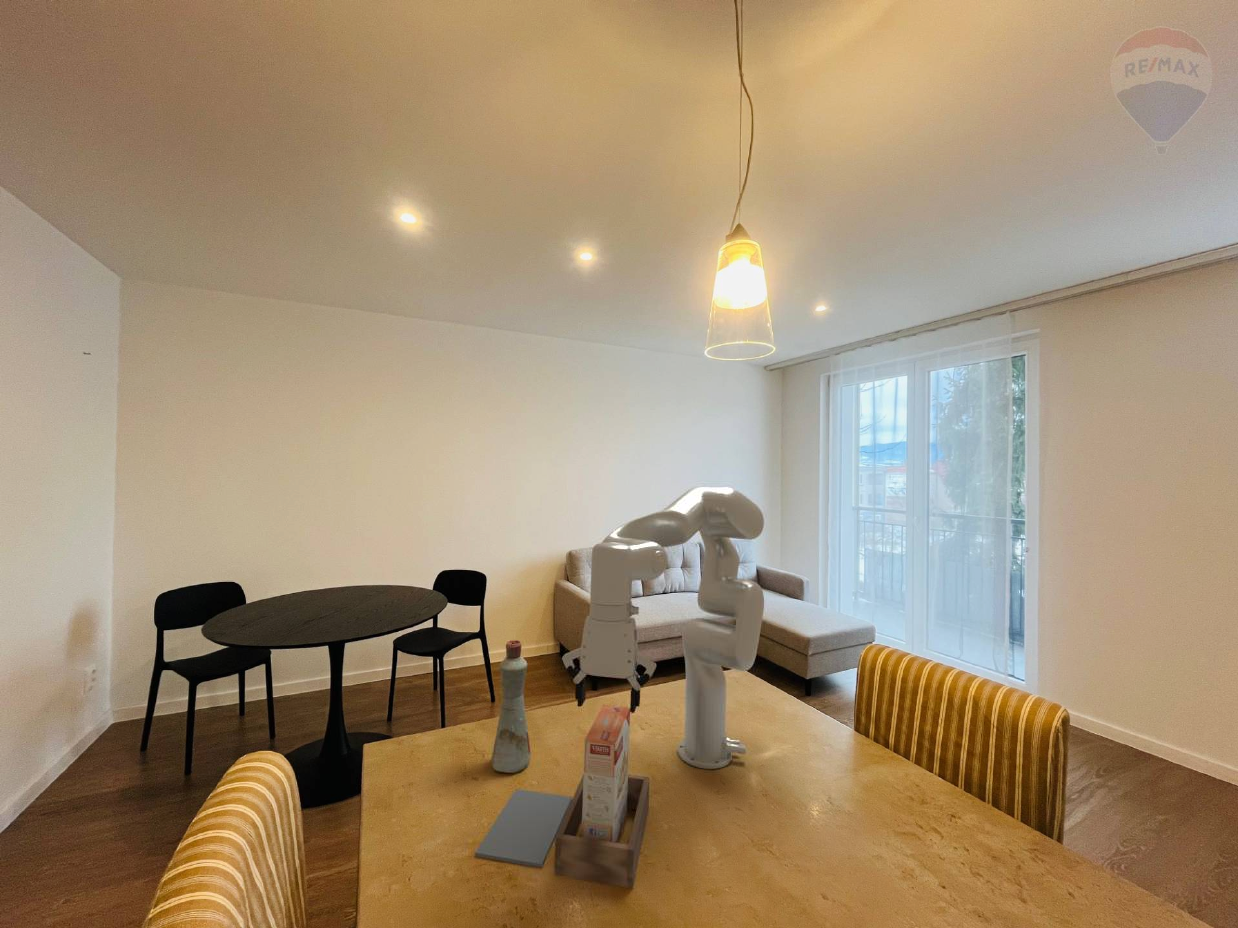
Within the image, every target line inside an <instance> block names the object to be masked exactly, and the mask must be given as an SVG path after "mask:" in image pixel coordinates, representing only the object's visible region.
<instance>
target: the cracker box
mask: <svg viewBox="0 0 1238 928" xmlns="http://www.w3.org/2000/svg"><path fill="white" fill-rule="evenodd" d="M630 728H631V712H630V707H626V706H615V705H609V704H602V706H601V708H600V709H599V712H598V713H597V716H596V717H595V719H594V721H593V723H592V725H591V727H590V729H589V731H588V733H587V734H586V737H585V738H584V751H583V753H584V754H583V774H584V779H583V808H582V821H581V836H580V837H583V838H589V839H595V840H601V841H608V842H614V843H620V840H621V838H622V837H621V836H622V833H623V830H624V827H625V822H626V820H627V815H628V808H627V794H628V774H629V756H630V755H629V754H630V733H631V732H630V730H631V729H630Z"/></svg>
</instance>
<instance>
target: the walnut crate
mask: <svg viewBox="0 0 1238 928" xmlns="http://www.w3.org/2000/svg"><path fill="white" fill-rule="evenodd" d="M583 779H584V773H583V774H582V776H581V779H580V781H579V783H578V786H577V788H576V790H575V793H574V794H573V797H572V801H571V803H570V806H569V808H568V810H567V812H566V815H565V817H564V819H563V821H562V824H561V826H560V828H559V830H558V833H557V835H556V837H555V839H554V869H553V870H554V874H553V875H554V876H558V877H564V878H569V879H575V880H580V881H581V880H582V881H585V882H592V883H598V884H602V885H603V884H604V885H609V886H615V887H618V888H619V887H622V888H625V889H626V888H627V889H632V890H633V889H634V885H635V879H636V875H637V869H638V865H639V859H640V856H641V855H640V854H641V850H642V849H641V848H642V845H643V841H644V840H643V839H644V834H645V829H646V825H647V820H648V816H649V815H648V814H649V809H650V776H644V775H638V774H637V775H636V774H629V773H628V794H627V809H631V810H636V812H635V816H634V818H633V819H634V820H633V823H632V828H631V833H630V836H629V841H628V843H627V844H626V843H620V842H619V843H614V842H608V841H601V840H595V839H589V838H583V837H581V836H577V835H578V831H579V830H580V829H579V828H580V827H581V825H582V808H583Z"/></svg>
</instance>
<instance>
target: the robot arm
mask: <svg viewBox="0 0 1238 928" xmlns="http://www.w3.org/2000/svg"><path fill="white" fill-rule="evenodd" d="M764 518H765V517H764V514H763V512H762V510H761V509H760V507H759V506H758V505H757V504H756V503H755V502H754V501H752V500H751V499H750V498H749V497H748V496H746V495H744V494H743V493H742V492H740V491H738V490H737V489H734V488H731V487H724V486H723V487H720V486H718V487H717V486H696V487H692V488H690V489H688V490H687V491H685V492H684V493H683V494H682V495H680V496H679V497H678V498H676V499H675V500H673V501H672V502H671V503H670V504H669V505H668V506H666V507H665V508H664V509H663V510H660V511H656V512H653V513H649V514H647V515H645V516H641V517H638V518H635V519H633V520H630V521H628V522H625V523H624V524H622V525H620V526H619V527H617V528H616V529H615V530H614V531H611V532H610V533H609V534H608V535H607V536H606V537H605V538H604V539H603V540H602V542H599V543H596V544H595V545H594V546H593V547H592V550H591V567H590V568H591V570H590V596H589V597H590V598H589V615H587V617H586V618H585V622H584V626H583V631H582V639H581V646H580V647H578V648H576V649H573V650H571V651H570V652H566V653H564V655H563V656H562V657H561V660H562V662H563V664H564V666H565V668H566V672H567V674H568V675H569V677H571V679H573V683H574V684H575V689H574V690H575V693H574V695H575V696H574V697H575V700H577V707H580V708H581V707H582V706H583V705H584V704H585V702H586V696H587V694H586V693H587V679H586V676H587V675H590V676H596V677H605V678H614V679H615V678H616V679H627V681H628V682H629V683H630V685H631V686H632V687H631V689H630V699H629V700H630V703H629V704H630V706H629V708H630V714H634V713H635V712H636V709H637V707H640V705H641V688H642V687H644V686H645V685H646V684H647V683H648V682H649V681H650V679H651V678H652V676H653V674H654V672H655V670H656V668H657V663H656V662H654V661H653V660H652V659H650V658H648V657H647V656H645V655H644V654H642V653H641V652H639V651H638V650H639V649H638V632H637V630H638V629H637V623H636V619H635V617H633V616H635V615H639V613H640V607H639V606H636V605H634V604H633V602H632V591H633V590H632V589H633V588H632V585H633V582H634V581H653V580H655V579H658V578H659V577H661V576H662V575H663V574H664V572H665V570H666V568H667V566H668V555H667V552H666V550H665V548H671V547H676V546H680V545H684V544H686V543H687V542H689V540H691V539H692V537H694V536H695V535H696V533H698V532H699V533H700V534H699V535H700V537H701V539H702V542H703V543H702V544H703V546H704V552H705V553H704V554H705V557H704V563H703V568H702V572H701V573H702V574H701V577H700V582H699V586H698V592H697V593H698V594H697V601H696V602H697V605H698V607H699V609H701V611H703V612H705V613H708V614H710V615H715V616H718V617H724V618H727V619H733V620H735V624H730V623H726V622H723V621H718V620H713V619H709V618H694V619H693V618H692V619H691V620H689V621H688V622H687V623H686V624H685V625H684V627H683V630H682V637H681V642H682V650H683V655H684V663H685V664H684V665H685V697H684V698H685V699H684V700H685V701H684V702H685V703H684V705H685V707H684V708H685V710H684V711H685V712H684V719H685V720H684V739H682V740H681V741H680V742H679V743H678V747H677V753H678V756H679V758H680V759H681V760H683V762H685V763H687V764H688V765H691V766H693V767H696V768H699V769H706V770H716V769H720V768H724V767H726V766H727V765H729V764H730V763H731V762H732V759H733V753H734V754H735V753H736V754H739V755H741V754H742V755H746V744H742V743H741V744H740V739H730V737H728V733H727V730H726V729H727V728H726V726H727V725H726V722H727V717H726V716H727V715H726V714H727V679H726V675H725V672H724V670H723V668H722V667H724V668H728V669H731V670H734V671H735V670H736V671H739V672H740V671H741V672H745V671H746V672H747V671H748V670H750V669H751V668H752V667H753V665H754V664H755V660H756V656H757V652H758V647H759V641H760V636H761V628H762V624H763V617H764V609H765V596H764V592H763V588H762V586H761V585H760V584H759V583H757V582H756V581H753V580H751V579H744V578H738V574H739V573H738V572H739V568H740V567H739V566H740V556H739V553H738V550H737V548H736V546H735V544H734V543H733V542H732V540H731V539H737V540H746V541H747V540H748V541H751V540H755V539H757V538H758V537H760V536H761V534H762V533H763V529H764V525H765V520H764ZM576 658H579V668H580V669H578V667H577V666H576V665H575V664H574V661H573V660H574V659H576ZM638 664H639V665H641V666H642V667H644V668H645V669H646V670H645V671H644V673H642V675H640V674H638V672H637V668H638Z"/></svg>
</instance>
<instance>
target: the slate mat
mask: <svg viewBox="0 0 1238 928" xmlns="http://www.w3.org/2000/svg"><path fill="white" fill-rule="evenodd" d="M572 799H573V797H572V796H568V795H561V794H554V793H546V792H540V791H539V792H538V791H533V790H526V789H519V788H515V790H514V791H513V792H512V794H511V796H510V797H509V799H508V800H507V802H506V803H505V805H504V807H503V808H502V810H501V811H500V813H499V814H498V816H497V817H496V819H495V821H494V822H493V824H492V825H491V826H490V829H489V830H488V831H487V833H486V835H485V836H484V838H483V840H482V841H481V843H479V846H478V847H477V849H476V850H475V852H474V857H476V858H477V857H478V858H482V859H483V858H484V859H487V860H488V859H489V860H495V861H501V862H507V863H512V864H518V865H524V866H529V867H534V868H540V869H541V868H543V866H544V864H545V862H546V860H547V857H548V855H549V854H550V850H551V848H552V846H553V843H555V837H556V835H557V833H558V830H559V828H560V826H561V824H562V821H563V819H564V817H565V815H566V812H567V810H568V808H569V806H570V803H571V801H572Z"/></svg>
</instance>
